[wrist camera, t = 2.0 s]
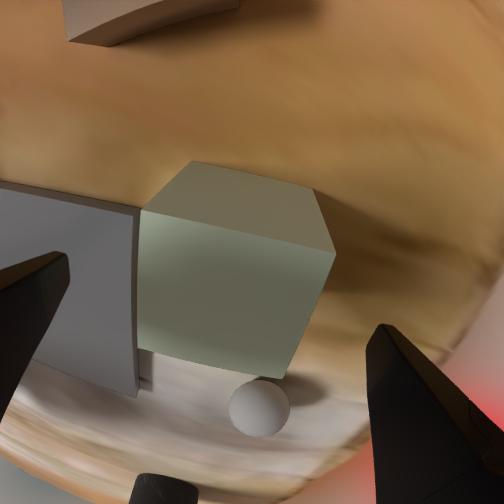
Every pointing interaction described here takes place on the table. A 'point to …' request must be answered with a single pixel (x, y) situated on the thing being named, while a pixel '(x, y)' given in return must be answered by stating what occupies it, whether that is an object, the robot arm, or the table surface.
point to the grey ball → (259, 408)
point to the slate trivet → (81, 279)
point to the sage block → (230, 269)
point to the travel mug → (162, 491)
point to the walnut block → (130, 17)
